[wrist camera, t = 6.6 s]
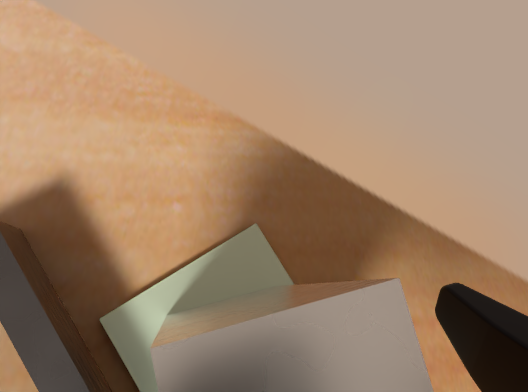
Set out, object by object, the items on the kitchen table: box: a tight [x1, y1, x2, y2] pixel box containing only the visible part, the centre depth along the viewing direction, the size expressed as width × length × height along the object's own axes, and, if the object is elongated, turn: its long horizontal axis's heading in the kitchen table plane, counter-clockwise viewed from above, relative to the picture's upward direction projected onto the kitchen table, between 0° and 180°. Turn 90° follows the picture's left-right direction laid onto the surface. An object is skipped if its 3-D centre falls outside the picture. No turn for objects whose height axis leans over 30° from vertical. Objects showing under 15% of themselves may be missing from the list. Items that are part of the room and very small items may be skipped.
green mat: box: [99, 223, 294, 392], centre depth 16 cm, size 8×7×1 cm
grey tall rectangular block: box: [150, 278, 434, 392], centre depth 11 cm, size 4×4×10 cm
